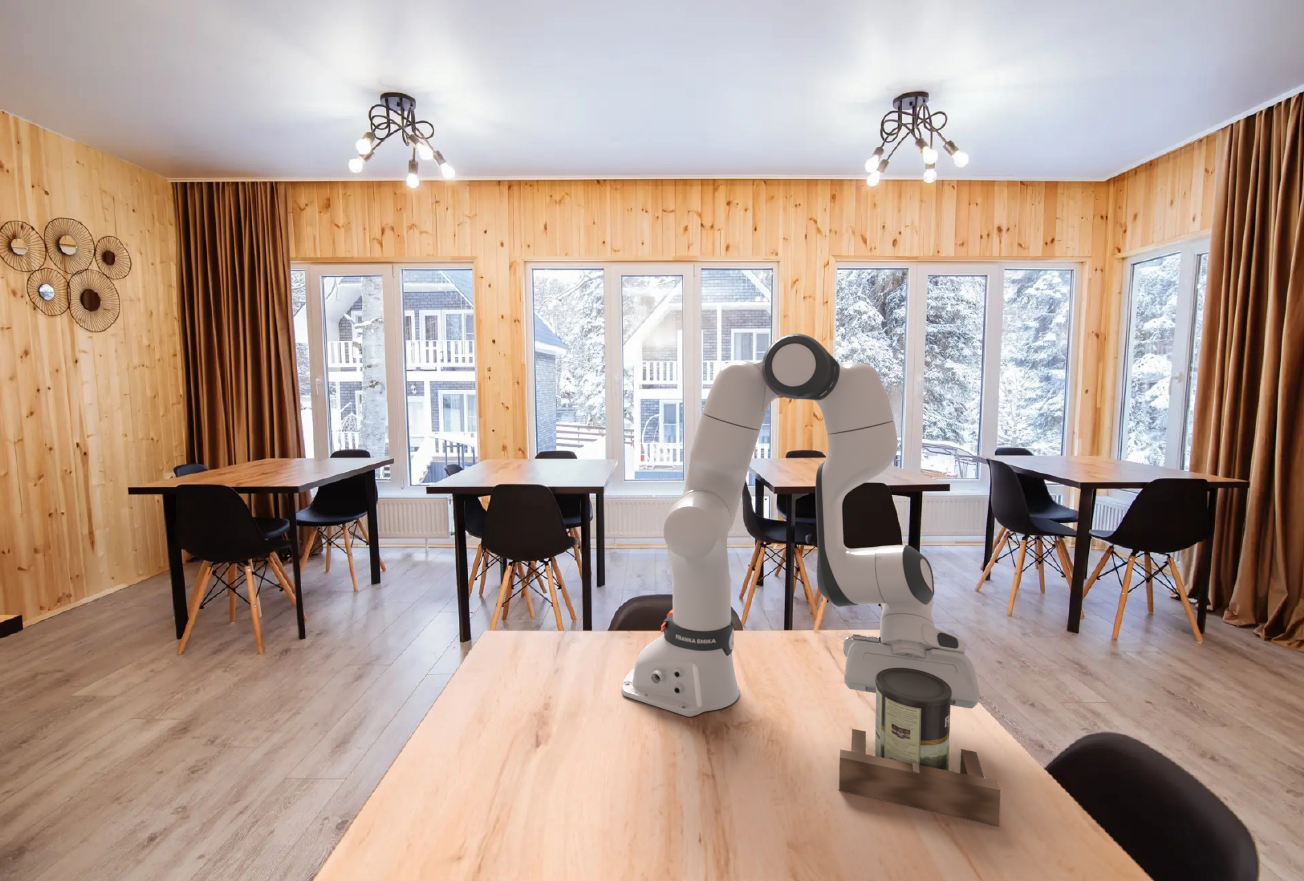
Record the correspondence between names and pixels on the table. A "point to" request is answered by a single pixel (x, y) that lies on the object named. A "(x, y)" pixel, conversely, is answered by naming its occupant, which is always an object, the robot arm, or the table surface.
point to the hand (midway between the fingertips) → (909, 726)
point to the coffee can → (912, 717)
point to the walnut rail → (921, 783)
